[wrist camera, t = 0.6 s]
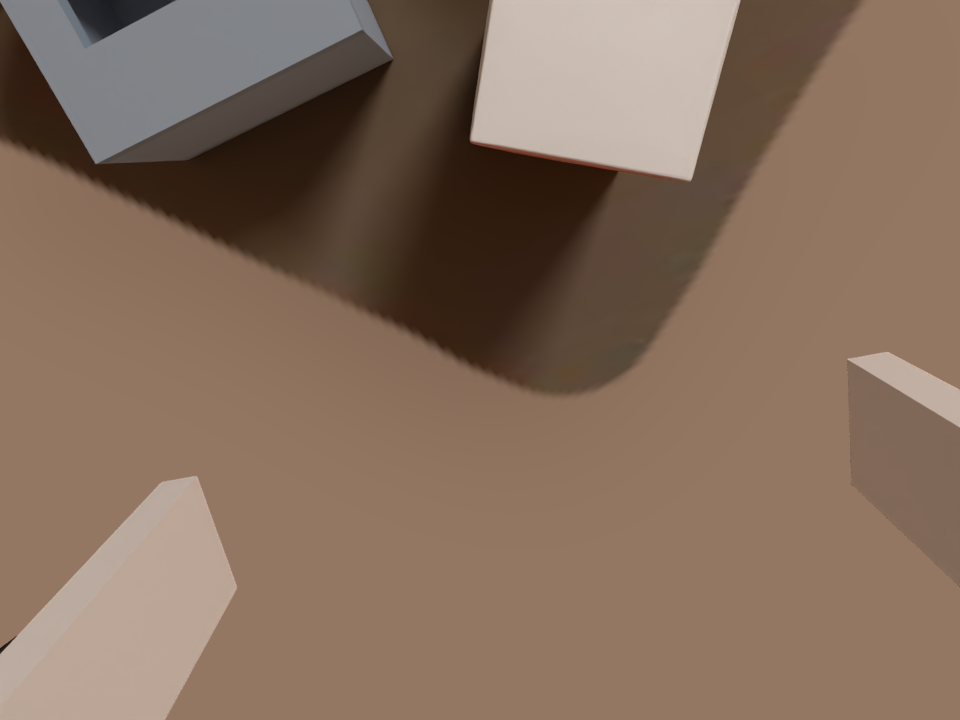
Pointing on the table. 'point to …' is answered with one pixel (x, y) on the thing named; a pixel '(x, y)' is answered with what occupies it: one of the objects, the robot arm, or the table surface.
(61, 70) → the coin box
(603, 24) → the small box
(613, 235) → the table surface
